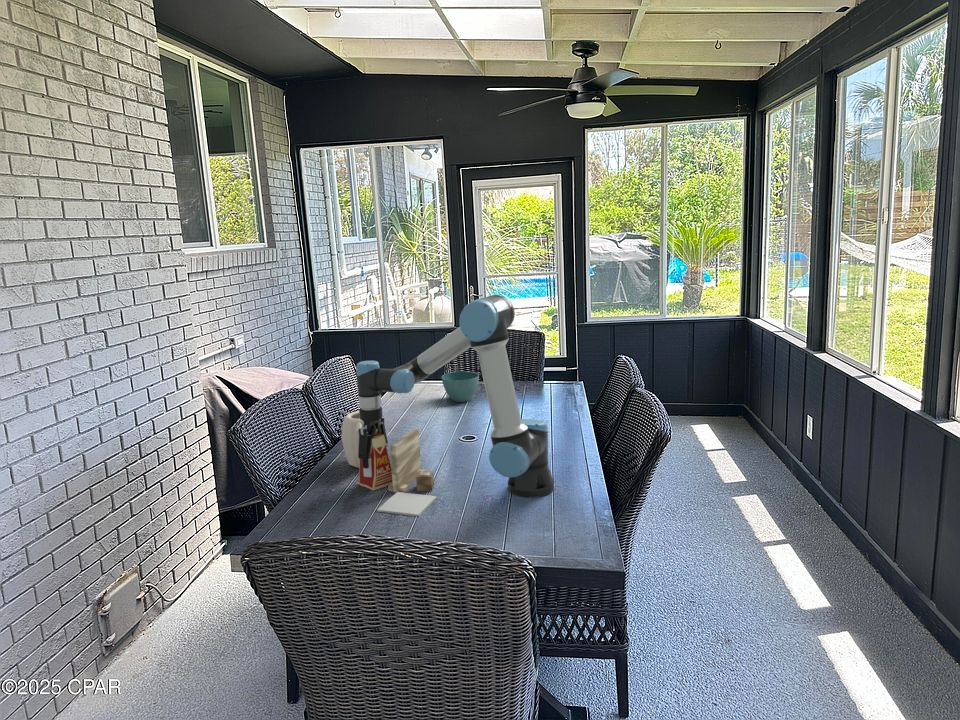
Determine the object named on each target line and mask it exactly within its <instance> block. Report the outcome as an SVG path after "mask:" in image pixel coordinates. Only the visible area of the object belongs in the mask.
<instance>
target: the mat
mask: <svg viewBox="0 0 960 720" xmlns="http://www.w3.org/2000/svg"><path fill="white" fill-rule="evenodd" d="M437 499H438V496H436V495H427V494H419V493H410V492H408V493H407V492H405V493H404V492H395V493H394V494H393V495H392V496H391V497H389V498H388V499H387V500H386V501H385V502H384V503H383V504H382V505H381V506H379V507H378V508H377V510H376V511H377V512H378V513H379V512H380V513H387V514H396V515H404V516H411V517H412V516H413V517H420V516H421V515H422V514H423V513H424V512H425V511H426V510H427V509H428V508H429V506H431V505H432V504H433V503H434V501H436V500H437Z"/></svg>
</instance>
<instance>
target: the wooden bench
mask: <svg viewBox="0 0 960 720" xmlns="http://www.w3.org/2000/svg"><path fill="white" fill-rule="evenodd" d="M420 445H421V444H420V429H416V428H413V429H411V430H410V431H409V432H408V433H406V434H405V435H403V436H402V437H400V438H399V439H398V440H396V441H394V442H393V443H392V444H391V445H389V447H390V463H391V467H392V481H393V483H392V484H390V485H388V486H387V487H388V488H387V489H388V492H393V493H397V492H402V493H407V491H408V490H410V487H409V484H410V483H412V481H414V480H415V479H416V476H417V474H418V471H427V470H426V469H422V466H421V465H422V462H421V446H420Z"/></svg>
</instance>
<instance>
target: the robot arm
mask: <svg viewBox="0 0 960 720" xmlns="http://www.w3.org/2000/svg"><path fill="white" fill-rule="evenodd" d="M461 310H462V311H460V314H459V320H458V321H459V327H457V328H456V329H454V330H453V331H451V332H450V333H448V334H447V335H446V336H444V337H443V338H441V339H440V340H438V341H437V342H436V343H434V344H433V345H431V346H430V347H428V348H427V349H426V350H425V351H423V352H421V353H420V354H418V356H416V357H415V358H413V359H412V360H410V361H409V362H407V363H405V364H402V365H400V366H399V365H398V367H394V368H382V367H380V363H379V361H377V360H362V361H359V362H358V363H357V364H356V375H355V378H356V382H357V394H358V397H357V399H358V407H359V410H358V411H359V414H360V419H361V420H362V421H363V422H364V425H363V428H362V429H359V451H358V458H360V459H363V471H364V477H372V467H371V458H369V456H370V450H371V444H372V439H373V438H374V433H375V430H376V429H378V430H377V432H378V433H381V434H384V437H385V441H386V446H387V447H388V443H389V442H388V436H387V430H386V426H385V418H384V417H383V408H382V406H383V403H382V402H383V401H382V392H385V393H394V394H395V393H397V394H409V393H410V392H411V391H412V390H413V389H414V386H415V384H418V383H421V382H423V381H425V380H426V379H427V378H429V376H430V375H432V374H434V373H435V372H436V371H437V370H439V369H440V368H442V367H443V366H445V365H446V364H448V363H449V362H450V361H452V360H454V359H455V358H457V357H458V356H460V355H461V354H463V353H464V352H466V351H467V350H469V349H470V348H471V349H473V351H475V352H476V353H477V358H478V361H479V365H480V370H481V375H482V379H483V383H484V389H485V393H486V397H487V403H488V407H489V411H490V417H491V421H492V425H493V429H492V431H491V433H489V435H490V439H491V443H492V444H491V445H492V447H491V449H490V452H489V456H488V457H489V462H490V463H489V464H490V465H491V467H492V468H493V470H494V472H496V473H498V474H499V475H501V476H502V477H506V478H508V479H507V490H508V493H511V494H512V495H514V496H518V497H522V498H537V497H544V496H547V495H549V494H551V493H553V491H554V489H555V482H554V479H553V475H552V473H551V470H550V467H549V439H548V438H549V434H548V433H549V431H548V424H547V423H546V422H545V421H544V420H541V419H534V418H522V417H521V413H520V409H519V408H520V407H519V403H518V398H517V394H516V390H515V386H514V385H515V384H514V381H513V375H512V371H511V367H510V362H509V361H510V360H509V357H508V352H507V348H506V345H507V343H508V342H509V339H510V338H509V332H508V329H509V328H510V327H511V326H512V325H513V322H514V320H515V308H514V306H513V303H512V302H511V301H510V300H509V299H508V298H507V297H505V296H502V295H501V294H500V295H499V294H491V295H488V296H484V297H482V298H477V299H474V300H472V301H471V302H469V303H467V304H466V305H465V306H464V308H462V309H461ZM367 435H371V436H367Z"/></svg>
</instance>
